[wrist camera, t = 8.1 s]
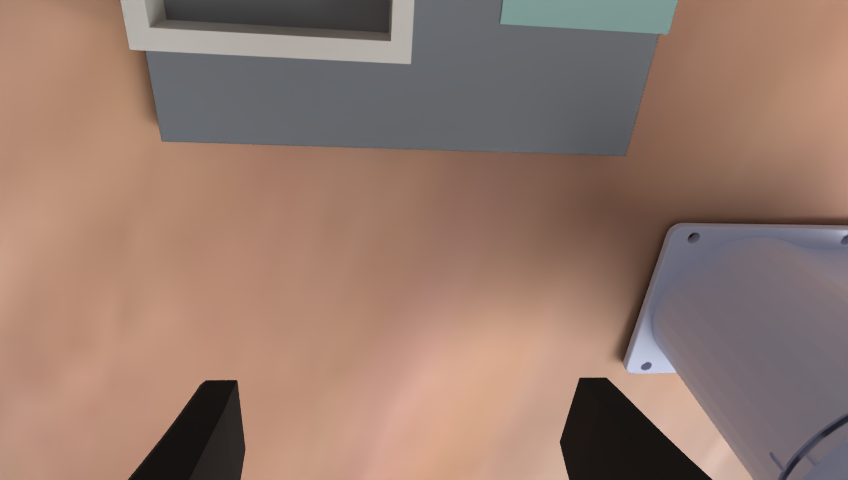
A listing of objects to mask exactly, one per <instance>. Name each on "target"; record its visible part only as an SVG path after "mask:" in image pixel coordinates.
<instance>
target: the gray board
mask: <svg viewBox="0 0 848 480" xmlns="http://www.w3.org/2000/svg"><path fill="white" fill-rule="evenodd" d="M120 1H121V6H122V11H123V16H124V21H125V27H126V32H127V37H128V42H129V47H130V50H143V51H146V57H147V62H148V68H149V73H150V79H151V85H152V90H153V96H154V101H155V107H156V112H157V118H158V123H159V129H160V134H161V140H162V141H165V142H197V143H229V144H261V145H293V146H324V147H356V148H388V149H420V150H452V151H484V152H515V153H547V154H579V155H611V156H626V153H627V149H628V146H629V142H630V138H631V135H632V131H633V127H634V124H635V120H636V116H637V113H638V109H639V105H640V102H641V98H642V94H643V91H644V87H645V83H646V80H647V76H648V72H649V69H650V65H651V61H652V58H653V54H654V51H655V47H656V43H657V40H658V36H659V34H669V30H670V27H671V23H672V20H673V16H674V13H675V9H676V6H677V2H678V0H120Z"/></svg>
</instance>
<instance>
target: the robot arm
mask: <svg viewBox="0 0 848 480" xmlns="http://www.w3.org/2000/svg"><path fill="white" fill-rule="evenodd" d="M692 233H695V234H694V235H693V236H692V237H691V238H688V237H689V235H690V234H692ZM644 363H645V364H644ZM623 365H624V367H625V369H626V371H627V372H629V373H633V374H636V373H677V374H678V375H679V376H680V378H681V379H682V381H683V382H684V383H685V385H686V386H687V388H688V389H689V390H690V392H691V393H692V395H693V396H694V397H695V399H696V400H697V402H698V403H699V404H700V406H701V407H702V409H703V410H704V411H705V413H706V414H707V416H708V417H709V418H710V420H711V421H712V423H713V424H714V425H715V427H716V428H717V429H718V431H719V432H720V434H721V435H722V436H723V438H724V439H725V441H726V442H727V443H728V445H729V446H730V448H731V449H732V450H733V452H734V453H735V455H736V456H737V457H738V459H739V460H740V462H741V463H742V464H743V466H744V467H745V469H746V470H747V471H748V473H749V474H750V476H751V477H752V478H753V480H848V225H784V224H718V223H679V224H676V225H674V226H672V227H671V228H670V229H669V230H668V232H667V234H666V237H665V240H664V243H663V246H662V249H661V252H660V255H659V258H658V261H657V264H656V267H655V270H654V273H653V276H652V279H651V281H650V284H649V287H648V290H647V293H646V296H645V299H644V302H643V305H642V308H641V311H640V314H639V317H638V320H637V323H636V326H635V329H634V331H633V334H632V337H631V340H630V343H629V346H628V349H627V352H626V355H625V358H624V361H623ZM560 445H561V449H562V453H563V457H564V461H565V466H566V469H567V473H568V477H569V480H712V479H711V478H710V477H709V476H708V475H707V474H706V473H704V472H703V471H702V470H701V469H700V468H699V467H698V466H697V465H696V464H695V463H694V462H692V461H691V460H690V459H689V458H688V457H687V456H686V455H685V454H684V453H683V452H682V451H681V450H680V449H679V448H678V447H677V446H675V445H674V444H673V443H672V442H671V441H670V440H669V439H668V438H667V437H666V436H665V435H664V434H663V433H662V432H661V431H660V430H659V429H658V428H657V427H656V426H655V425H654V424H653V423H652V422H651V421H650V420H649V419H648V418H647V417H646V416H645V415H644V414H643V413H642V412H641V411H640V410H639V409H638V408H637V407H636V406H635V405H634V404H633V403H632V402H631V401H630V400H629V399H628V398H627V397H626V396H625V395H624V394H623V393H622V392H621V391H620V390H619V389H618V388H617V387H616V386H615V385H614V384H612V383H611V382H610V381H609V380H608V379H607V378H579V382H578V385H577V388H576V391H575V395H574V398H573V401H572V404H571V407H570V411H569V414H568V417H567V420H566V424H565V427H564V430H563V433H562V437H561V440H560ZM244 455H245V442H244V433H243V425H242V416H241V408H240V400H239V391H238V383H237V380H206V381H205V382H203V383H202V384H201V385H200V386H199V388H198V389H197V391H196V392H195V393H194V395H193V396H192V398H191V399H190V400H189V402H188V403H187V405H186V406H185V407H184V409H183V410H182V412H181V413H180V414H179V416H178V417H177V418H176V420H175V421H174V422H173V424H172V425H171V426H170V428H169V429H168V430H167V432H166V433H165V434H164V436H163V437H162V438H161V439H160V441H159V442H158V443H157V445H156V446H155V447H154V448H153V449H152V451H151V452H150V453H149V454H148V456H147V457H146V458H145V459H144V461H143V462H142V463H141V464H140V466H139V467H138V468H137V469H136V471H135V472H134V473H133V474H132V475H131V477H130V478H129V479H128V480H240V479H241V473H242V467H243V461H244Z"/></svg>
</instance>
